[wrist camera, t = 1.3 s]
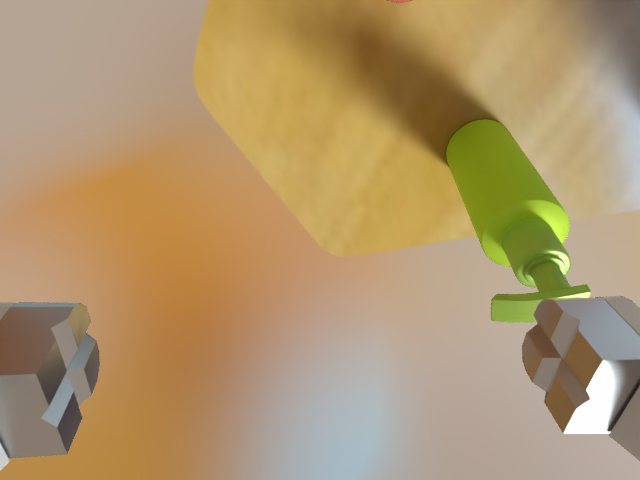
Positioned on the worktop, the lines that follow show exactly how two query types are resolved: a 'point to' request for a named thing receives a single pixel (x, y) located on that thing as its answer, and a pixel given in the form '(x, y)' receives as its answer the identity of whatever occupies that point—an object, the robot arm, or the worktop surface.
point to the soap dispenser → (512, 216)
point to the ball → (399, 1)
